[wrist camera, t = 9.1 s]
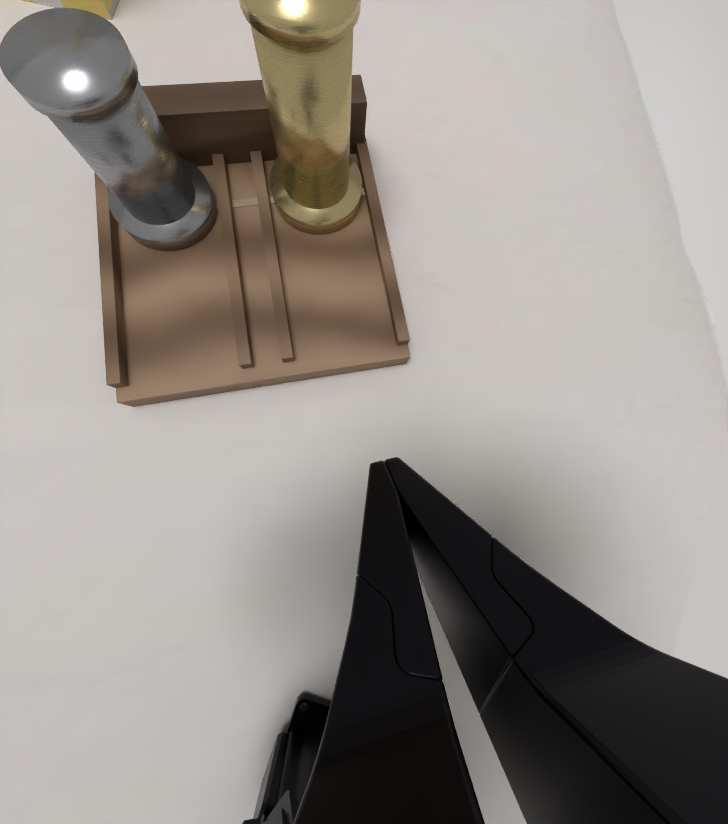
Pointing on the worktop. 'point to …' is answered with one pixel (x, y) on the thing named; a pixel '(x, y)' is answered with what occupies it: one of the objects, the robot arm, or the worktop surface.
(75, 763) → the worktop surface
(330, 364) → the walnut mount
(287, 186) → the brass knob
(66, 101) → the pewter knob
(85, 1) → the pasta box
